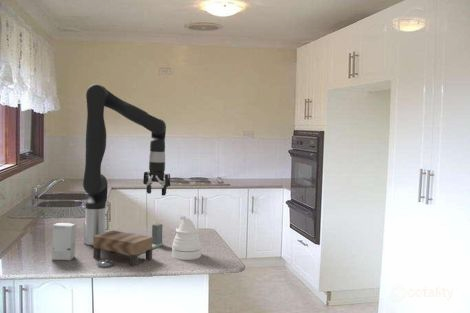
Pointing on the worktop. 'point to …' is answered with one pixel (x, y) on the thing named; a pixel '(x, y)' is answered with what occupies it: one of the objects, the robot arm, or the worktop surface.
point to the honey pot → (186, 241)
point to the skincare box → (63, 241)
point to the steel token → (105, 263)
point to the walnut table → (123, 244)
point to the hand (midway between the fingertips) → (156, 194)
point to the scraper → (156, 236)
